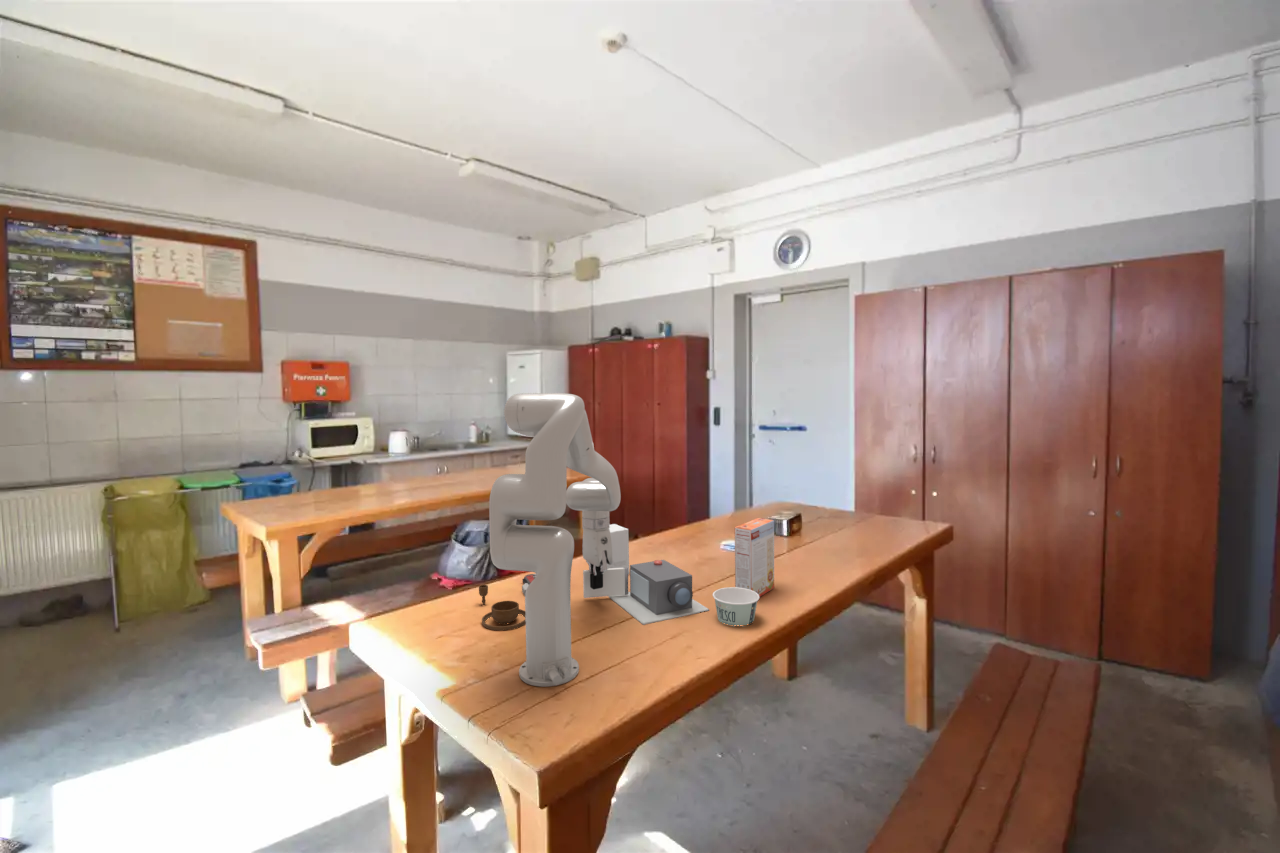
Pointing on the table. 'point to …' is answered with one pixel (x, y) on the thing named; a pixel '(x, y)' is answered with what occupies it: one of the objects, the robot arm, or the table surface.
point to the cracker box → (755, 555)
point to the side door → (607, 583)
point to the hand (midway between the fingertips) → (596, 587)
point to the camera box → (658, 593)
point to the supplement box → (619, 547)
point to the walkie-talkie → (527, 582)
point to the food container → (735, 605)
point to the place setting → (501, 612)
